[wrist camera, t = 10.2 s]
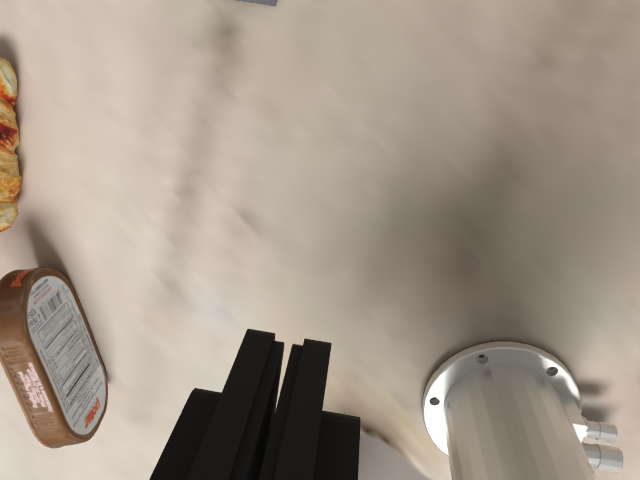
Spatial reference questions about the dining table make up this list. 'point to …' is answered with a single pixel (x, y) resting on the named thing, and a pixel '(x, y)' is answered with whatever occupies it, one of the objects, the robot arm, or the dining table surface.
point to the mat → (262, 2)
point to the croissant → (8, 146)
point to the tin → (51, 357)
